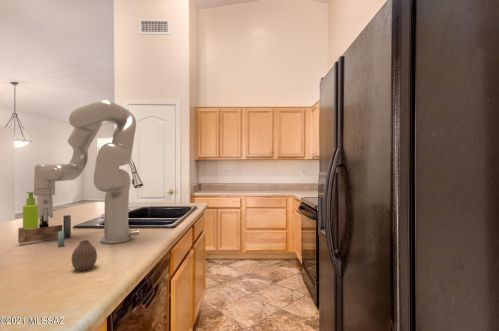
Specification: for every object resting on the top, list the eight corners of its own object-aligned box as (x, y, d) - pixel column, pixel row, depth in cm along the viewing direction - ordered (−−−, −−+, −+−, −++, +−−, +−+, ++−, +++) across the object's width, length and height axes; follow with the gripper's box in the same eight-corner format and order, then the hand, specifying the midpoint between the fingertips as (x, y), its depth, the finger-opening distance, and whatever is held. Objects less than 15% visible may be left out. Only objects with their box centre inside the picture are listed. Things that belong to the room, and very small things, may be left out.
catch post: (64, 245, 112) (64, 230, 112) (63, 246, 110) (63, 231, 110) (59, 245, 112) (59, 231, 112) (57, 247, 110) (57, 232, 110)
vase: (91, 263, 91) (91, 237, 91) (100, 268, 87) (100, 240, 87) (68, 269, 86) (68, 241, 86) (76, 274, 82) (76, 245, 82)
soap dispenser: (31, 233, 131) (31, 192, 132) (19, 233, 133) (20, 192, 133) (42, 231, 137) (43, 191, 137) (31, 230, 139) (31, 191, 139)
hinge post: (71, 236, 126) (71, 215, 126) (69, 238, 124) (69, 216, 124) (64, 237, 125) (64, 215, 125) (62, 238, 123) (62, 216, 123)
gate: (61, 235, 124) (61, 222, 124) (62, 236, 122) (62, 223, 122) (18, 242, 113) (18, 227, 113) (19, 243, 111) (19, 228, 111)
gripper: (57, 192, 118) (56, 235, 117) (53, 190, 129) (52, 229, 129) (35, 193, 113) (34, 238, 113) (32, 191, 124) (32, 231, 124)
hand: (43, 233), depth 121 cm, fingers closed
